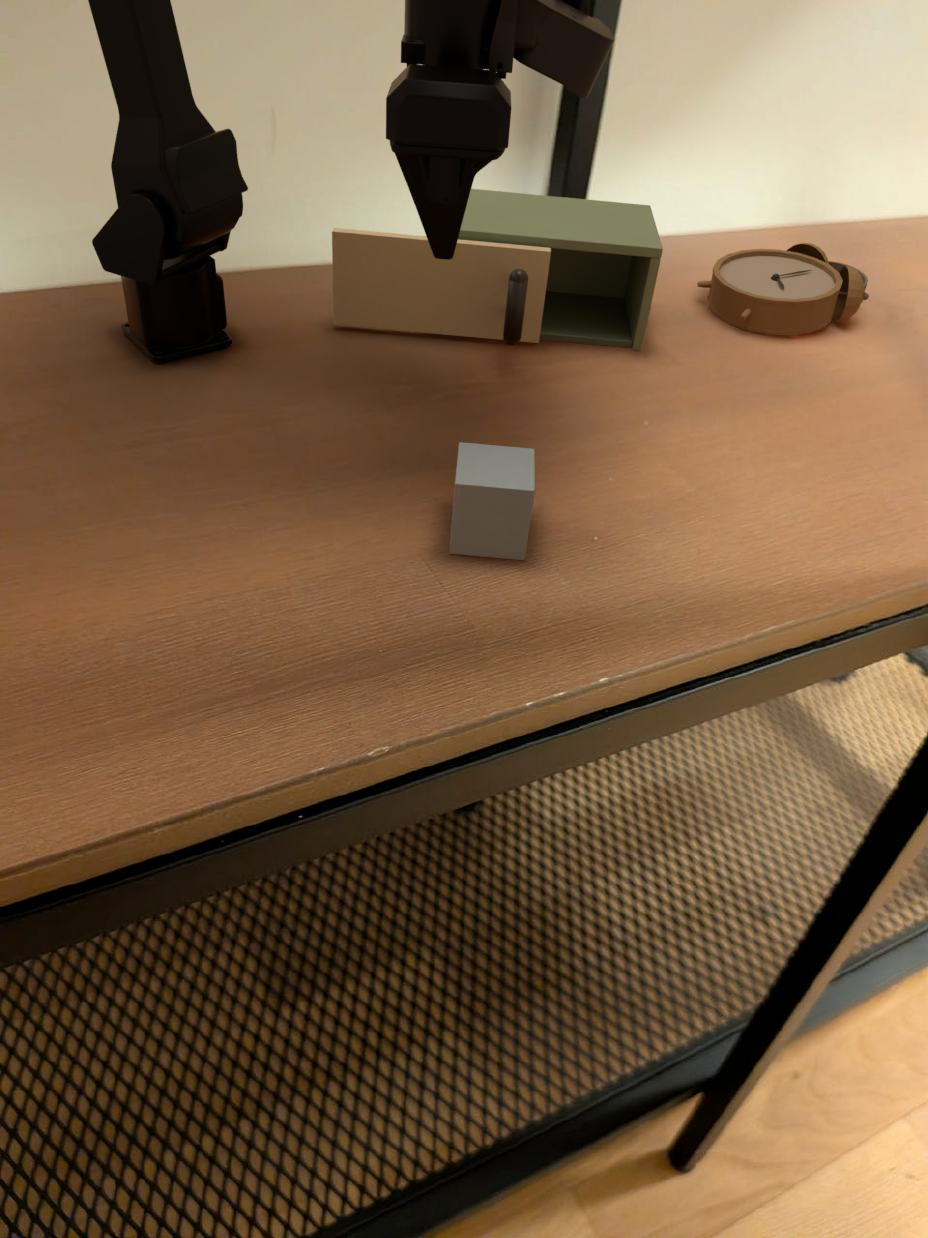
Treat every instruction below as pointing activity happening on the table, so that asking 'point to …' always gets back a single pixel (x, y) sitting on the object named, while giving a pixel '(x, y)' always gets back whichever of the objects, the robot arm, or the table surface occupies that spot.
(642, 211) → the cabinet
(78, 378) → the table surface
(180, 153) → the robot arm
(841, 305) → the alarm clock
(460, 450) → the block
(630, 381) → the table surface
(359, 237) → the door
